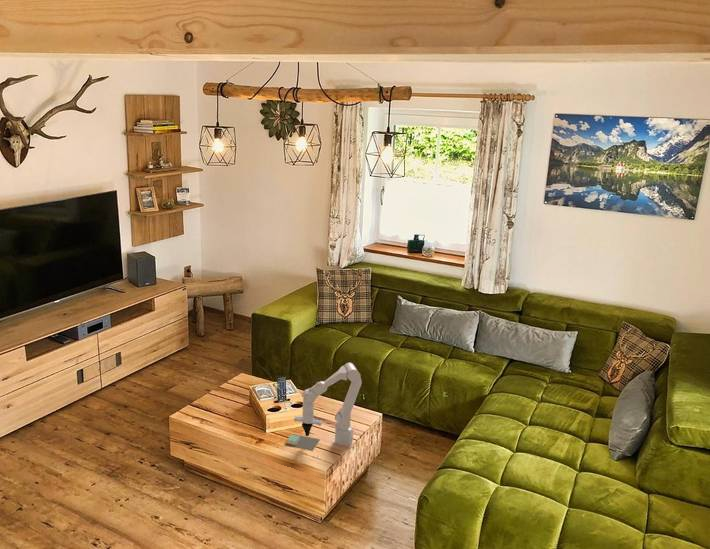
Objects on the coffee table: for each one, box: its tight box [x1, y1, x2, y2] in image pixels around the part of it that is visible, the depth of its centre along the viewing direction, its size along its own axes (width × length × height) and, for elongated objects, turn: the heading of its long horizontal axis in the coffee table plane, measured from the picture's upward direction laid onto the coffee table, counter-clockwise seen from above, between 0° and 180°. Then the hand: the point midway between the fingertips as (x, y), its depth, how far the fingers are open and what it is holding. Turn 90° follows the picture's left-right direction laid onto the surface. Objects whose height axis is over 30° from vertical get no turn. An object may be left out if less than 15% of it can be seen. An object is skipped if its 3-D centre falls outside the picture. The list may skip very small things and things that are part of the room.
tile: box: [286, 433, 300, 445], centre depth 330 cm, size 2×6×5 cm
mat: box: [283, 433, 321, 452], centre depth 331 cm, size 16×12×1 cm
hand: (307, 435), depth 327 cm, fingers closed
